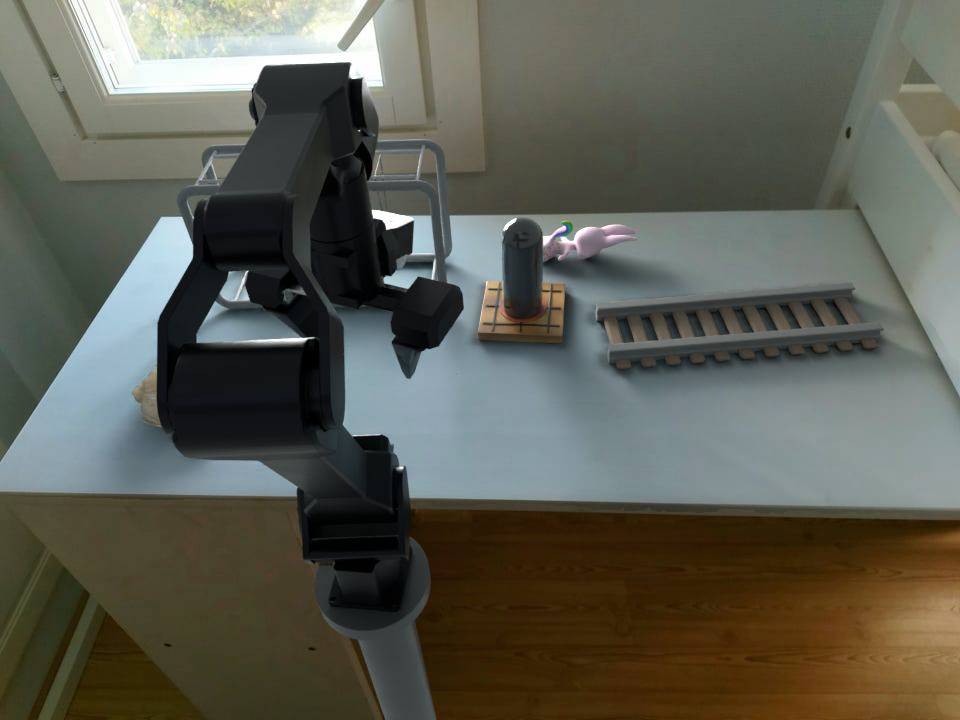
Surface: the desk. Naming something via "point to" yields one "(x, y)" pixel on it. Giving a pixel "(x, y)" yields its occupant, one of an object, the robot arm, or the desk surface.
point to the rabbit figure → (584, 240)
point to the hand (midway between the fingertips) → (367, 363)
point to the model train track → (735, 325)
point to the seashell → (148, 398)
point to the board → (523, 330)
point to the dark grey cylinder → (522, 268)
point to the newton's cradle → (397, 185)
